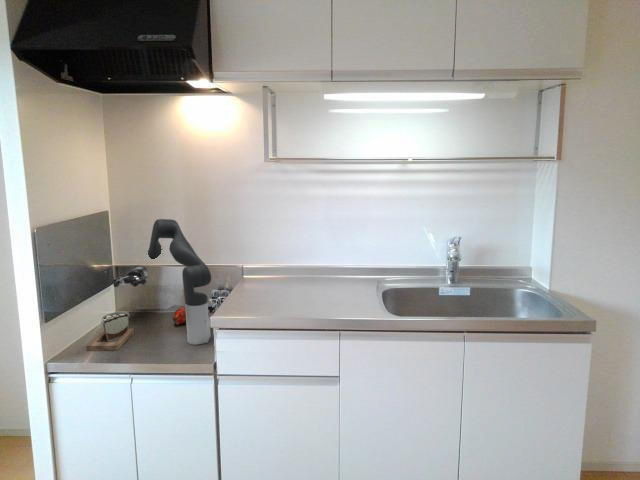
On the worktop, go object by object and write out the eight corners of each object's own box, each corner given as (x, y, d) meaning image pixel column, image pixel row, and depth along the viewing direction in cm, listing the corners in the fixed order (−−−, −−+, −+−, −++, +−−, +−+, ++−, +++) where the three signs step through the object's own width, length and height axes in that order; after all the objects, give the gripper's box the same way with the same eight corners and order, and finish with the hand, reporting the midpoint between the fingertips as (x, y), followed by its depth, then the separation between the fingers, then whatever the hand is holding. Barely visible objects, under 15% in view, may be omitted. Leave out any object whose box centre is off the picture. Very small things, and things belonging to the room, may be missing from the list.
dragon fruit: (193, 321, 216) (177, 333, 206) (180, 310, 217) (164, 322, 207) (200, 310, 212) (183, 322, 202) (187, 299, 213) (170, 310, 203)
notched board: (134, 332, 198) (134, 328, 198) (117, 350, 181) (117, 345, 180) (106, 333, 198) (105, 328, 198) (86, 350, 180) (86, 346, 180)
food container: (123, 330, 201) (121, 309, 199) (131, 333, 198) (129, 312, 196) (97, 339, 192) (94, 317, 190) (104, 342, 188) (102, 320, 186)
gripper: (122, 268, 215) (107, 277, 199) (151, 268, 216) (139, 276, 200) (123, 283, 217) (109, 293, 201) (152, 283, 217) (141, 292, 201)
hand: (124, 285), depth 200 cm, fingers open, 8 cm apart
